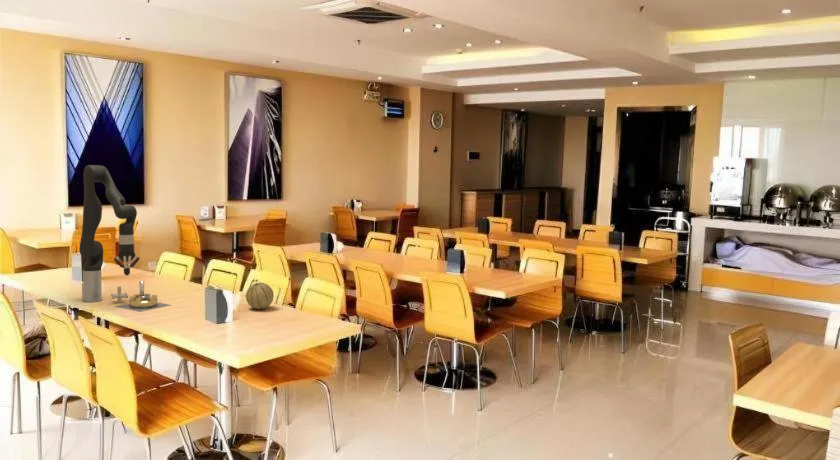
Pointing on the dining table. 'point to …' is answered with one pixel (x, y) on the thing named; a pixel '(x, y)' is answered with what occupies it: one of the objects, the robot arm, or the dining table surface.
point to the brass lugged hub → (143, 299)
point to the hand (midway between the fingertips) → (127, 275)
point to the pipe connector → (119, 295)
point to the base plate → (143, 308)
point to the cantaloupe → (259, 296)
